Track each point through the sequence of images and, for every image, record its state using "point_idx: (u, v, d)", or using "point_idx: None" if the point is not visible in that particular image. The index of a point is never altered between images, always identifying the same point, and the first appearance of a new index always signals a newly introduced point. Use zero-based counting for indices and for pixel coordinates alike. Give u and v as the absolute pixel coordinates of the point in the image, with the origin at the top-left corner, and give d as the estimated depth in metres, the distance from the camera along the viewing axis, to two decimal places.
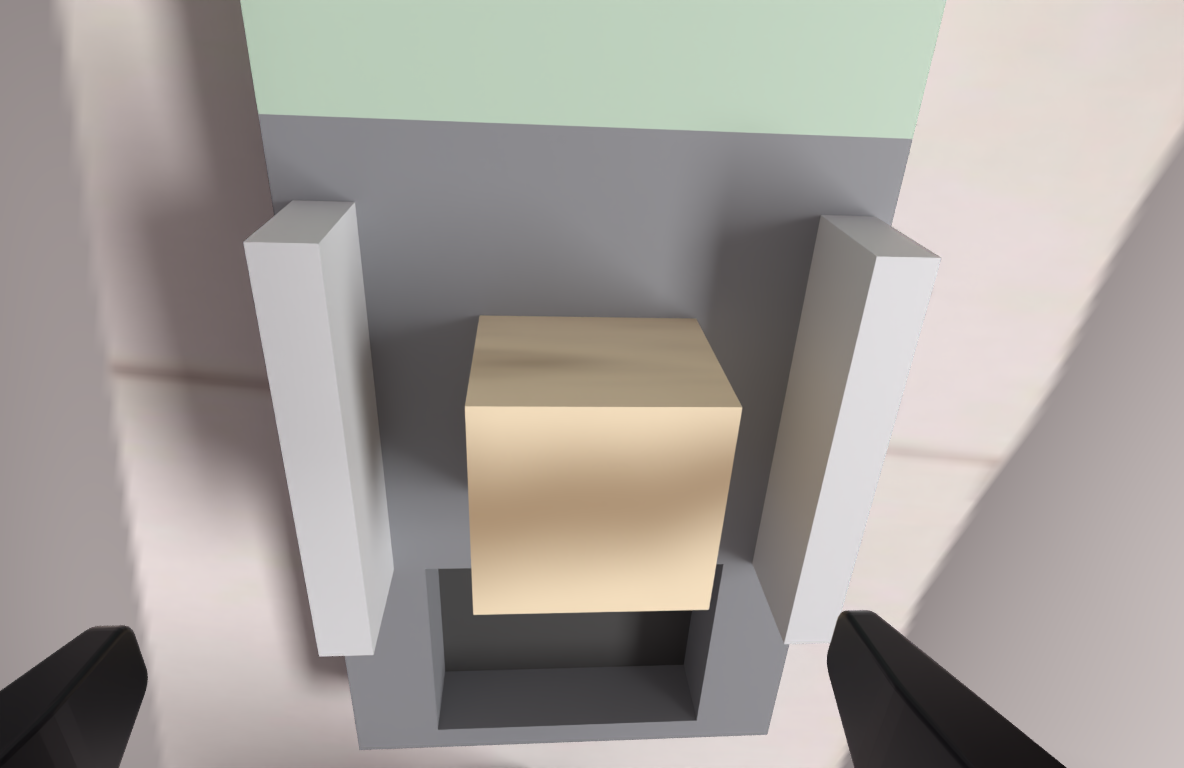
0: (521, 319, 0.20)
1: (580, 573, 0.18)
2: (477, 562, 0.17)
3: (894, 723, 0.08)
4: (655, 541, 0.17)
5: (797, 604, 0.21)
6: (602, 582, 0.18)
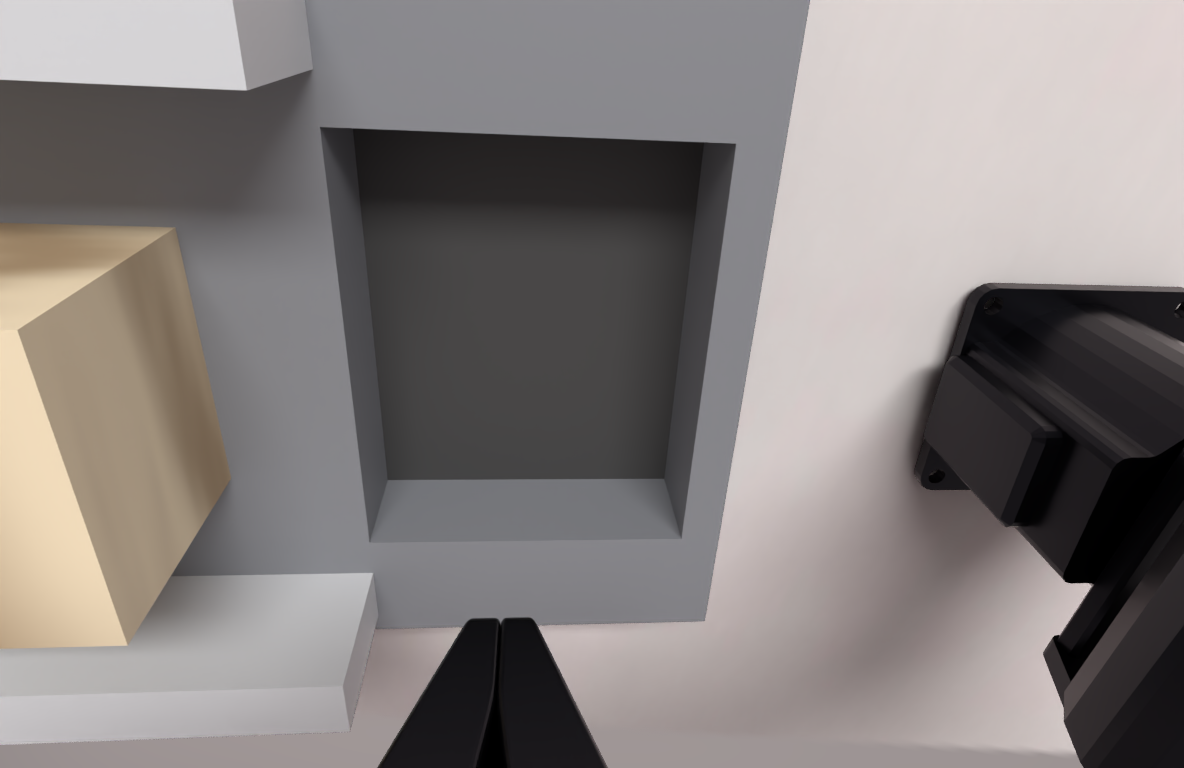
0: None
1: None
2: (20, 642, 0.12)
3: (498, 737, 0.08)
4: None
5: (121, 76, 0.10)
6: (6, 498, 0.11)
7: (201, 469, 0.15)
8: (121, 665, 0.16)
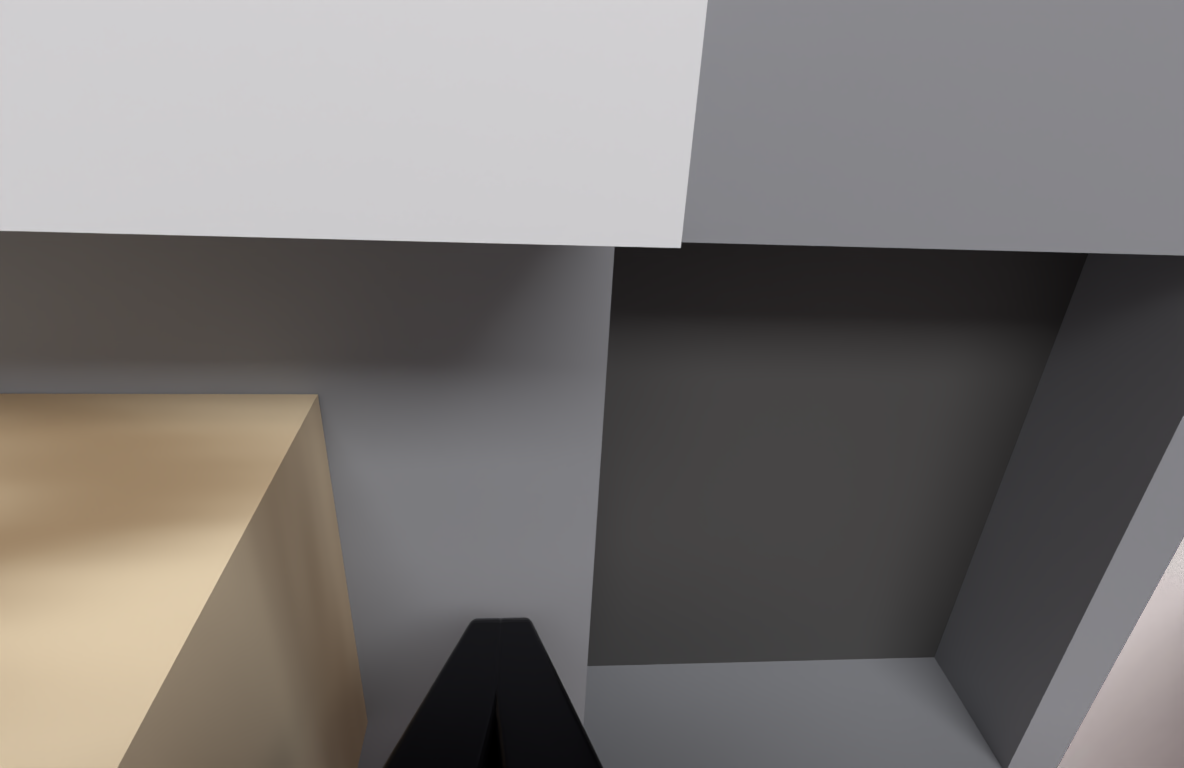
0: None
1: None
2: None
3: None
4: None
5: (422, 223, 0.04)
6: None
7: (342, 745, 0.10)
8: None
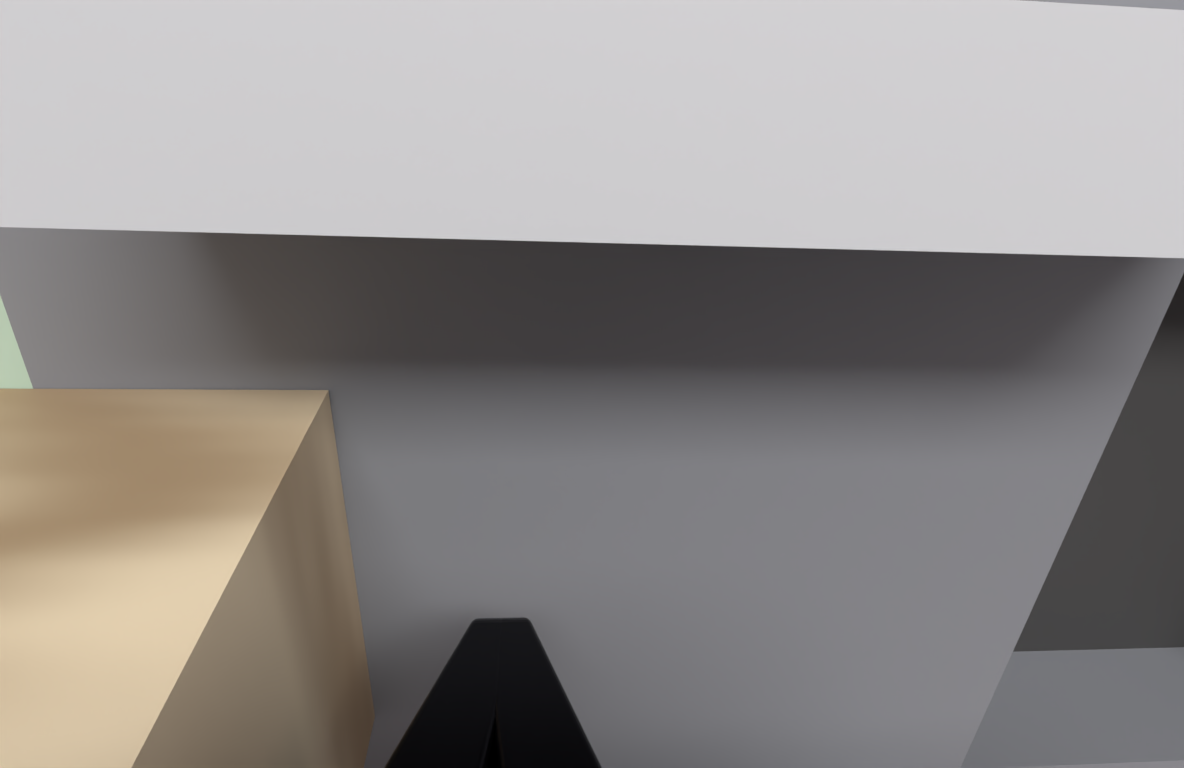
0: None
1: None
2: None
3: None
4: None
5: None
6: None
7: (351, 738, 0.10)
8: None
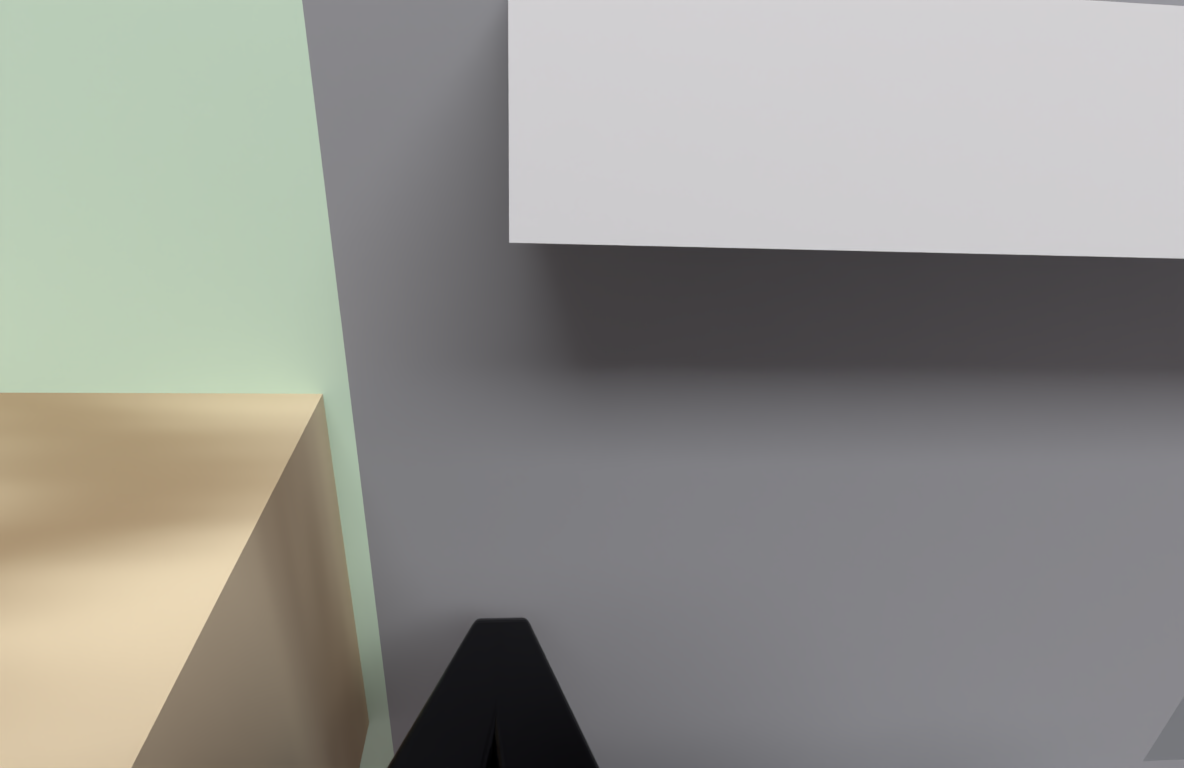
0: None
1: None
2: None
3: None
4: None
5: None
6: None
7: (345, 745, 0.10)
8: None
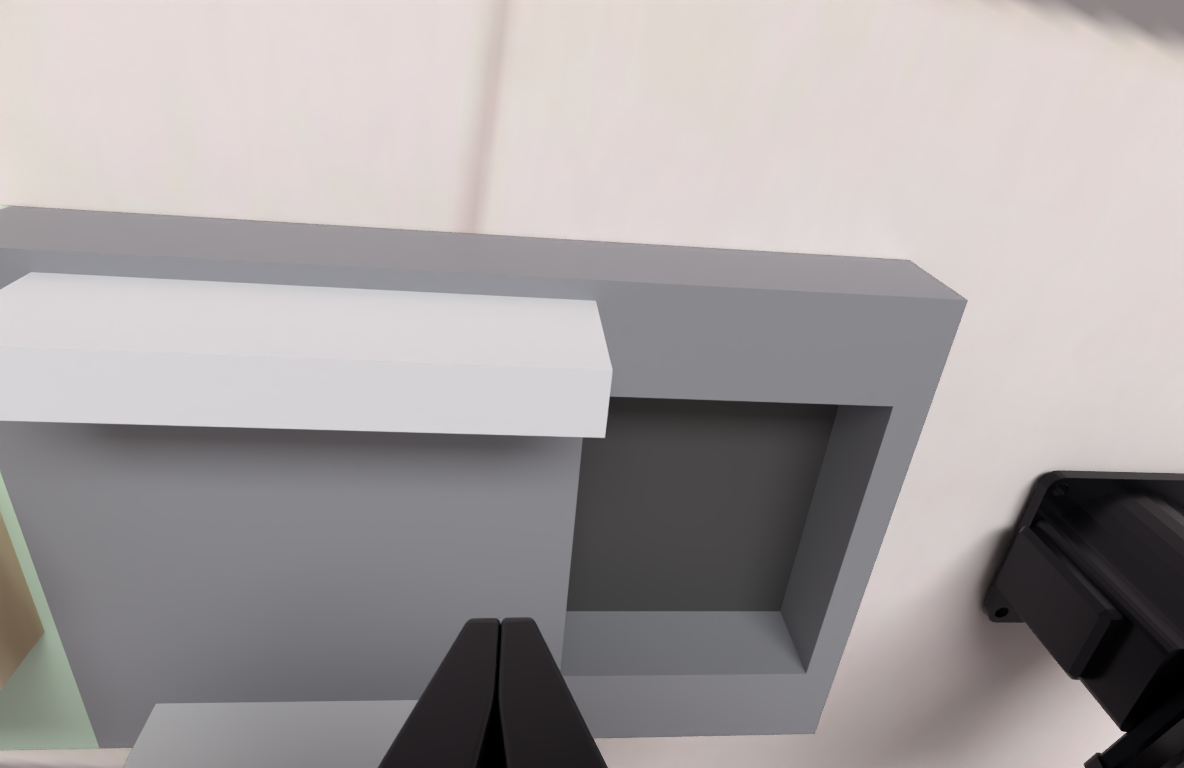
0: None
1: None
2: None
3: (498, 737, 0.08)
4: None
5: (522, 430, 0.14)
6: None
7: (6, 636, 0.18)
8: None
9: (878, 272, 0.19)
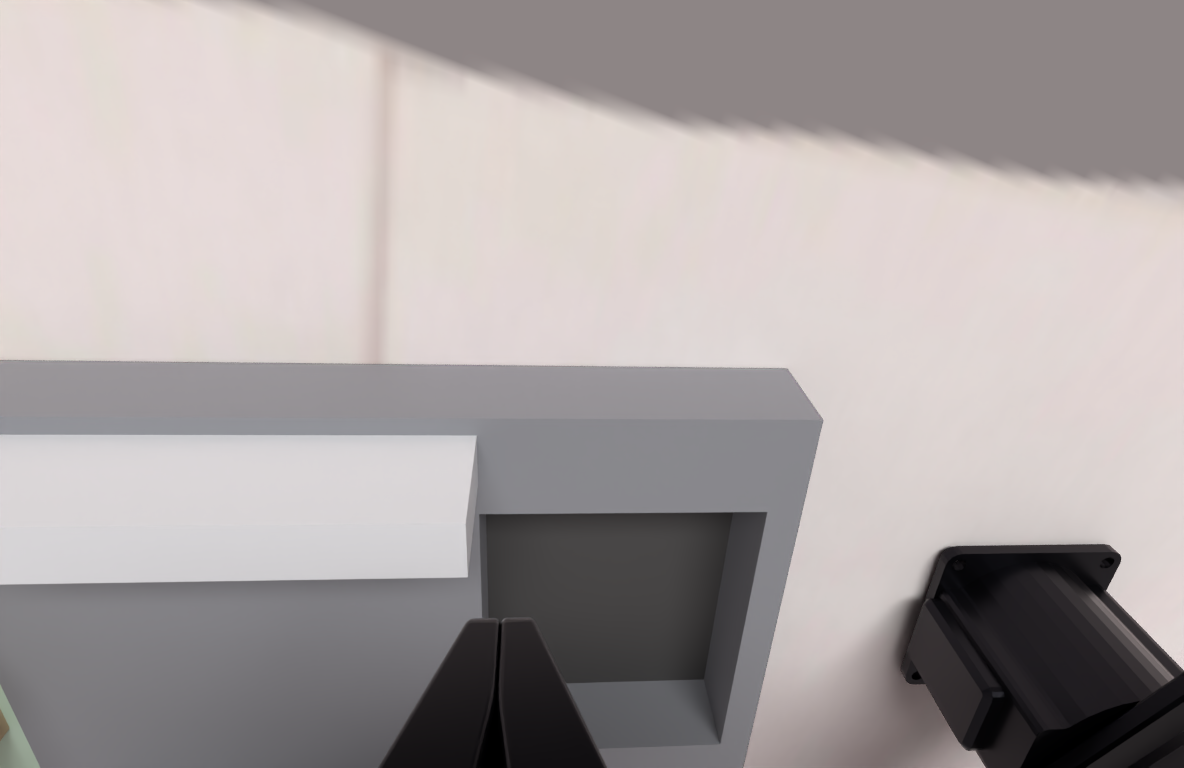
0: None
1: None
2: None
3: (498, 737, 0.08)
4: None
5: (392, 574, 0.16)
6: None
7: None
8: None
9: (750, 388, 0.20)
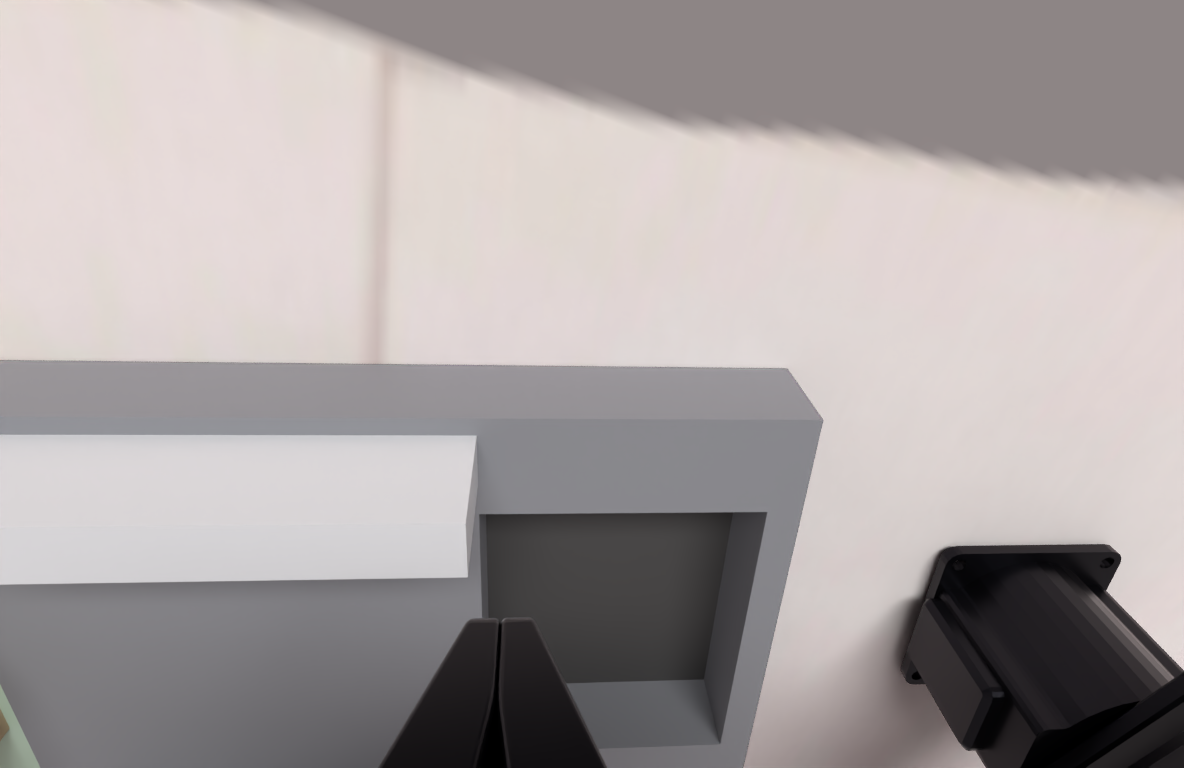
0: None
1: None
2: None
3: (498, 737, 0.08)
4: None
5: (392, 574, 0.16)
6: None
7: None
8: None
9: (750, 388, 0.20)
